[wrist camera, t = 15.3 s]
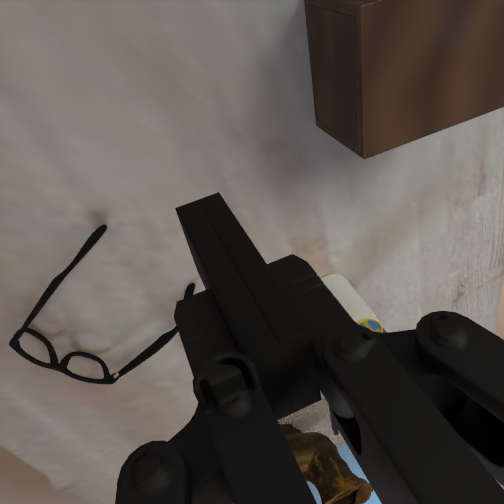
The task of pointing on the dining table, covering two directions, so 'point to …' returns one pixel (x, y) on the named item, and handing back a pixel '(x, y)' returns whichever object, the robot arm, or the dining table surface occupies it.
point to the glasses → (64, 362)
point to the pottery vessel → (326, 468)
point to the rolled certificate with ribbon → (352, 302)
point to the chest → (335, 68)
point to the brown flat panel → (426, 67)
